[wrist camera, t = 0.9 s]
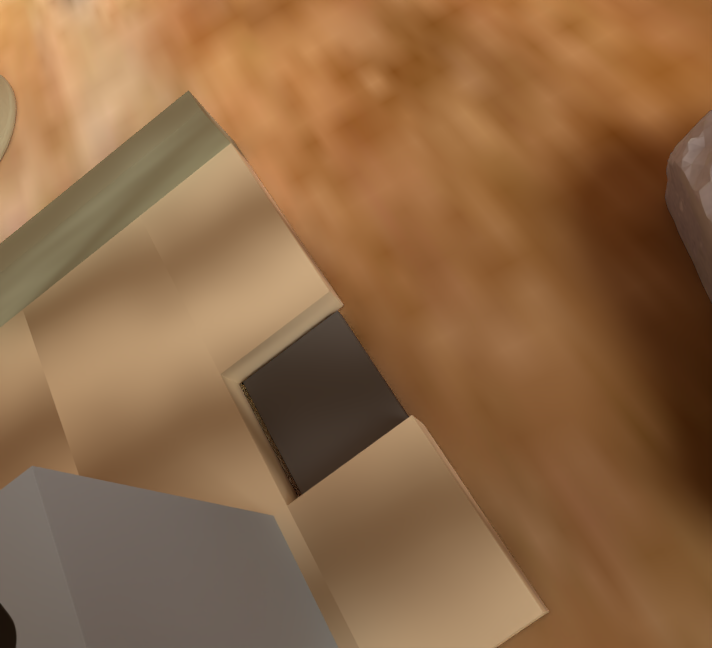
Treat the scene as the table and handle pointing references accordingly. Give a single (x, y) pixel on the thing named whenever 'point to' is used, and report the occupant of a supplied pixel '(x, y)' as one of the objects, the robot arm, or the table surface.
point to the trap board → (238, 389)
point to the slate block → (146, 570)
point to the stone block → (693, 196)
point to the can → (6, 114)
